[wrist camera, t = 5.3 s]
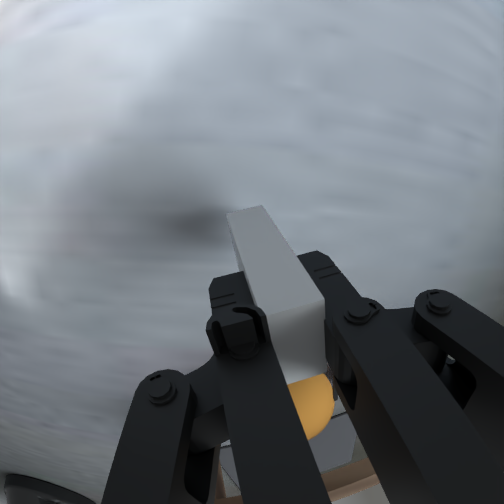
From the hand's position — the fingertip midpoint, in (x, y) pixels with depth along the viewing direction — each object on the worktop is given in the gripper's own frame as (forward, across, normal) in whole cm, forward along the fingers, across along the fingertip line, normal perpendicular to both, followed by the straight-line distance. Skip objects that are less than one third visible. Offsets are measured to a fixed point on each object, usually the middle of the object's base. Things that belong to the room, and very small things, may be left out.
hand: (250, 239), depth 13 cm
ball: (-1, 0, -11) cm, 11 cm away
